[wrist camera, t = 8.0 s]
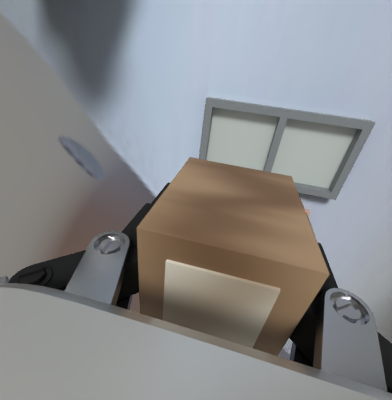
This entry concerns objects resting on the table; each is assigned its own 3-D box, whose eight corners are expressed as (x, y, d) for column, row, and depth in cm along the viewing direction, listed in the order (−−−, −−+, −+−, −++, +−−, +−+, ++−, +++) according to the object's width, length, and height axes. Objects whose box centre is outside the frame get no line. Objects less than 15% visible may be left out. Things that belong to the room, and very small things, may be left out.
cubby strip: (368, 120, 20) (375, 122, 19) (331, 194, 24) (335, 199, 23) (208, 96, 22) (206, 98, 21) (199, 168, 26) (197, 172, 25)
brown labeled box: (291, 176, 10) (331, 277, 5) (263, 252, 13) (270, 370, 8) (190, 157, 11) (134, 230, 6) (182, 233, 14) (139, 330, 8)
